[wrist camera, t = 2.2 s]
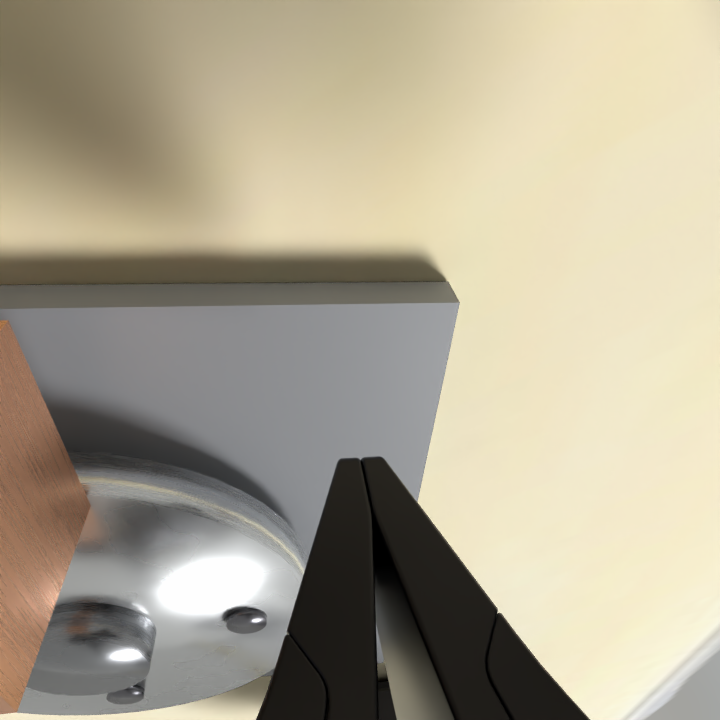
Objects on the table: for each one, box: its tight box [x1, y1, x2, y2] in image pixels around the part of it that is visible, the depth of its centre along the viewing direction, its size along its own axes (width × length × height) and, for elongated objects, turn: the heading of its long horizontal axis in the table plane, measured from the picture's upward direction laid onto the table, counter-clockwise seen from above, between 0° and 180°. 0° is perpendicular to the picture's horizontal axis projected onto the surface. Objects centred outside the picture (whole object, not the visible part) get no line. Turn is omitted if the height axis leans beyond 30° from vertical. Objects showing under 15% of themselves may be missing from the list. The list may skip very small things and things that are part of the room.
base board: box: [0, 282, 460, 677], centre depth 16 cm, size 20×20×2 cm
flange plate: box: [0, 320, 308, 715], centre depth 12 cm, size 18×13×5 cm
